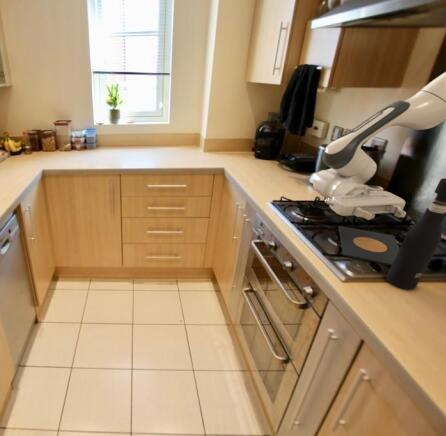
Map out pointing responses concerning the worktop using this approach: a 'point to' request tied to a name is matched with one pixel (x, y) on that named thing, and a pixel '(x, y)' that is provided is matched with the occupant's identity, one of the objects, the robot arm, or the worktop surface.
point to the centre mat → (368, 245)
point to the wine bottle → (419, 244)
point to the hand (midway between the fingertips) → (387, 216)
